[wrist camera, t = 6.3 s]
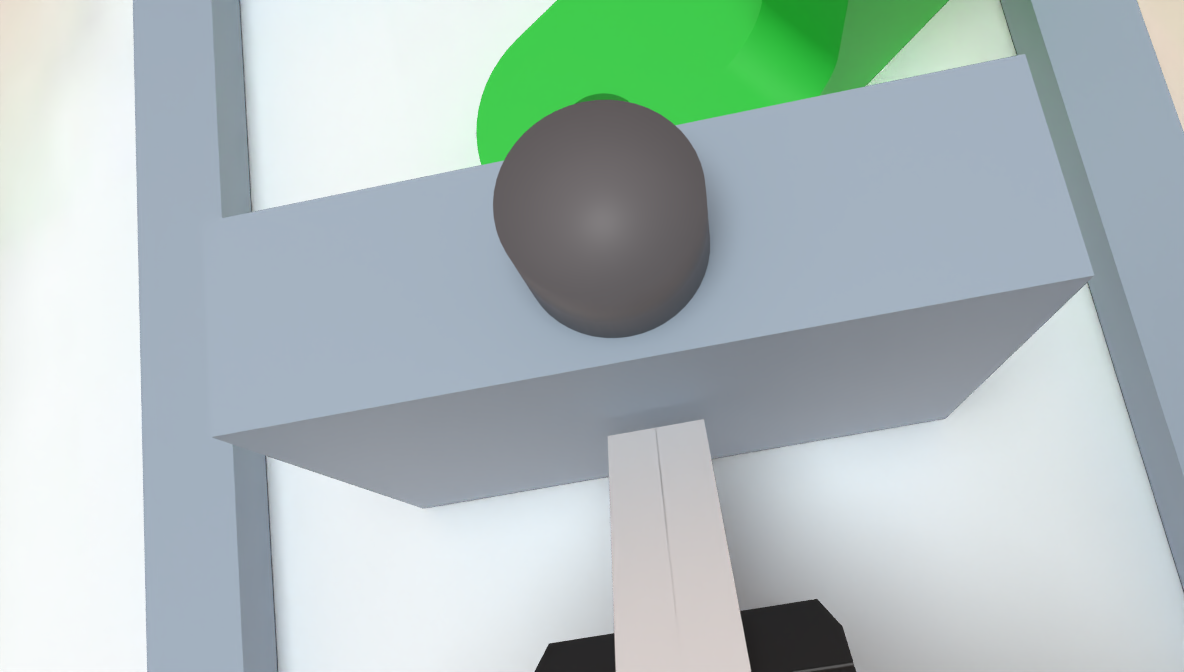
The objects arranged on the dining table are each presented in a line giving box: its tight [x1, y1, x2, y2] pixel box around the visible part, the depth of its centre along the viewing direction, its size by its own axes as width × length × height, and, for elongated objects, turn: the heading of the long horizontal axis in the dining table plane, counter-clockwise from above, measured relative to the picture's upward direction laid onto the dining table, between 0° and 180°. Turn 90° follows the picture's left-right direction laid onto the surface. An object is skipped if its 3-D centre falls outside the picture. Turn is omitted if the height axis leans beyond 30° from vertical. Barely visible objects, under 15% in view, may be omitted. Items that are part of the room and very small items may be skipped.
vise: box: [133, 0, 1184, 672], centre depth 21 cm, size 22×24×4 cm
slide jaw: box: [202, 54, 1094, 508], centre depth 16 cm, size 11×3×11 cm, turn 99°
